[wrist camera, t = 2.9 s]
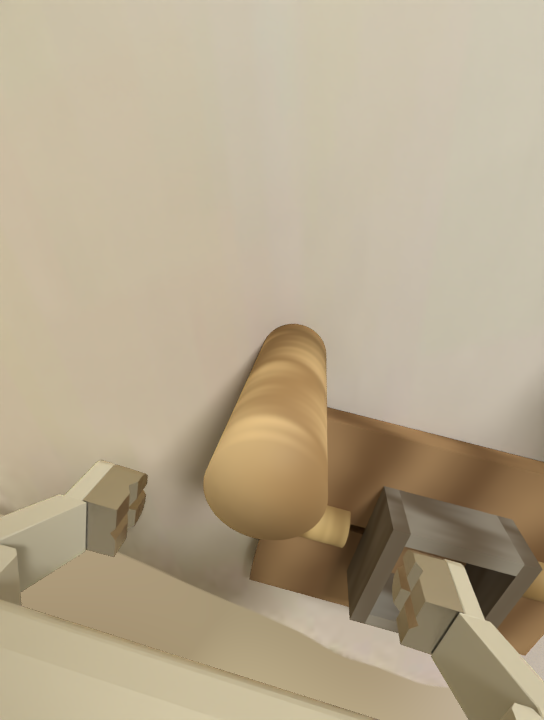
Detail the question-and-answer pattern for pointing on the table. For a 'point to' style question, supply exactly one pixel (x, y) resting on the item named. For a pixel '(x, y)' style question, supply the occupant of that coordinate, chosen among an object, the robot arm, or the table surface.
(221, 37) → the table surface
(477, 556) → the wooden socket board
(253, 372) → the pin
